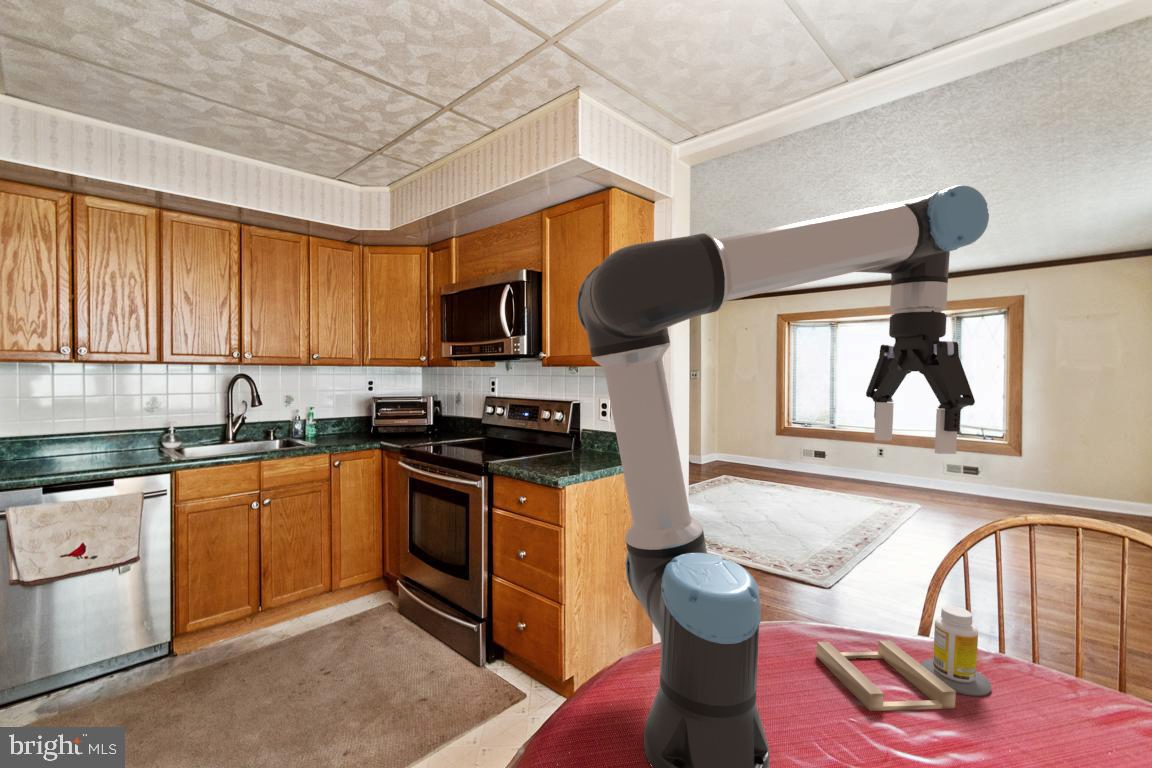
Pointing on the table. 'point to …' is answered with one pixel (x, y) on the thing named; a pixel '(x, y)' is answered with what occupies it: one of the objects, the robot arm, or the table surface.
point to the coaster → (974, 688)
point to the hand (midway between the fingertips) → (911, 446)
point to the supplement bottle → (955, 645)
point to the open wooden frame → (899, 661)
